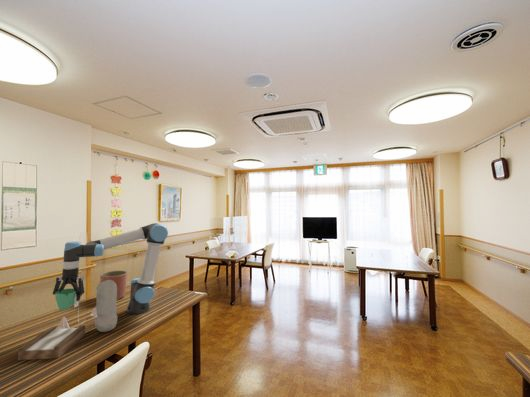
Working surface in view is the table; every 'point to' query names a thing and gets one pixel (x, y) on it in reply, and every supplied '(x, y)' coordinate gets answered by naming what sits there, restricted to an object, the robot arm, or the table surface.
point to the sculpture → (106, 306)
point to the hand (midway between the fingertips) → (67, 306)
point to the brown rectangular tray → (51, 343)
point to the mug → (65, 298)
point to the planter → (116, 281)
